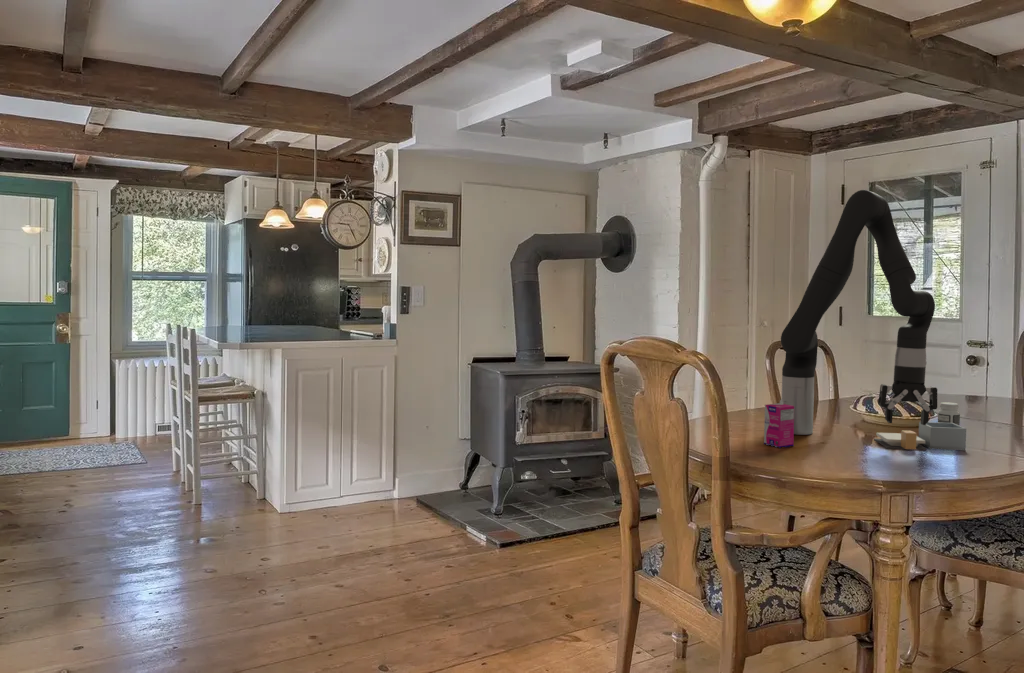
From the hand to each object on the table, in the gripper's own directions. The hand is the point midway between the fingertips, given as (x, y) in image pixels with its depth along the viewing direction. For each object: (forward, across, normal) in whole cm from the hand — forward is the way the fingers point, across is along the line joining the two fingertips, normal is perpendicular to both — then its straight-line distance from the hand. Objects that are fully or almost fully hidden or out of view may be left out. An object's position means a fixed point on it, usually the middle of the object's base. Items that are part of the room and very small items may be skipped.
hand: (906, 423), depth 209 cm
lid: (+7, -1, -5) cm, 9 cm away
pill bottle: (+7, -20, -25) cm, 32 cm away
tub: (+7, -12, -8) cm, 16 cm away
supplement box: (+8, +33, +1) cm, 34 cm away
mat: (+7, -1, -7) cm, 10 cm away
